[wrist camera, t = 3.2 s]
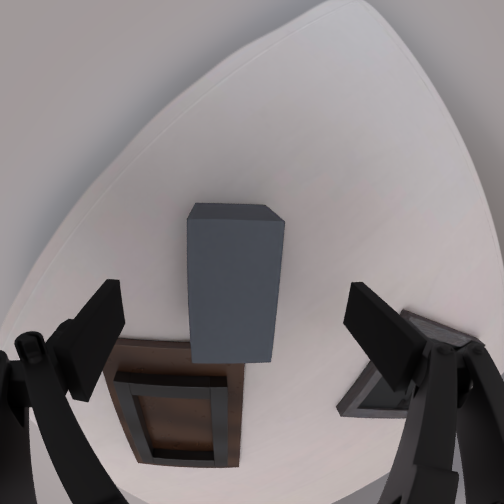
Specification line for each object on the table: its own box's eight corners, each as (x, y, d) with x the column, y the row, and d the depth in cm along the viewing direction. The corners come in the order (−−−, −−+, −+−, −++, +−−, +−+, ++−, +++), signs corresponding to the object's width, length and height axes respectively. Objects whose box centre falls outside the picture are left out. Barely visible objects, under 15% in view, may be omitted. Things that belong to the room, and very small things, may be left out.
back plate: (238, 461, 30) (240, 476, 27) (138, 457, 28) (136, 471, 25) (244, 342, 24) (247, 359, 21) (98, 336, 22) (89, 352, 20)
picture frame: (477, 338, 29) (403, 309, 25) (485, 345, 27) (413, 318, 23) (424, 411, 32) (335, 407, 28) (430, 419, 30) (341, 419, 26)
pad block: (257, 316, 23) (271, 362, 17) (195, 316, 22) (191, 363, 17) (265, 204, 21) (285, 221, 15) (195, 202, 20) (186, 218, 14)
